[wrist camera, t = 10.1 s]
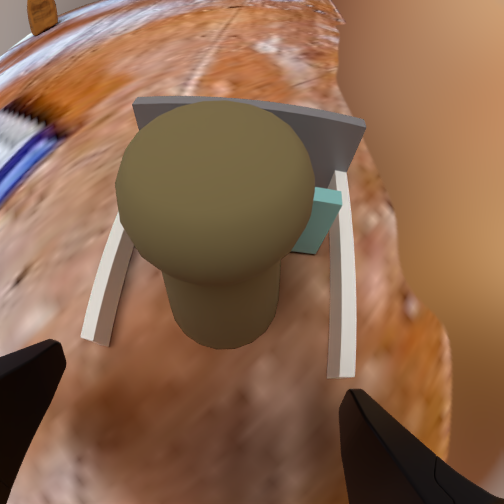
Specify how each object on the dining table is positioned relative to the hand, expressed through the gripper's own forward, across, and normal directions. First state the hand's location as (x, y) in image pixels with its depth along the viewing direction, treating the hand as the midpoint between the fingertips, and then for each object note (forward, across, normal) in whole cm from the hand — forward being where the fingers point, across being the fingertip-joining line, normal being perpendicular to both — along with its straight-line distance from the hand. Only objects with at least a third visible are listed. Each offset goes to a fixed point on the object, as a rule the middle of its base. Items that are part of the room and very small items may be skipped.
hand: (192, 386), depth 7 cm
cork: (+8, 0, +1) cm, 9 cm away
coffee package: (+60, +72, -50) cm, 106 cm away
